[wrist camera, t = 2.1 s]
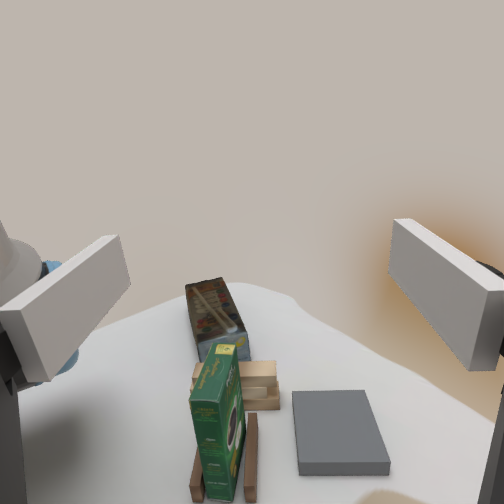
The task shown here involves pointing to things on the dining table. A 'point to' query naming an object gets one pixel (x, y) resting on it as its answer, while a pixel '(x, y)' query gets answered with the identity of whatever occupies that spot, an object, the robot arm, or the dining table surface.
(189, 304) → the beverage carton
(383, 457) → the stand pad
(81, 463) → the dining table surface
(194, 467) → the walnut rack
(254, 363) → the offcut stack
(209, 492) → the coffee box
